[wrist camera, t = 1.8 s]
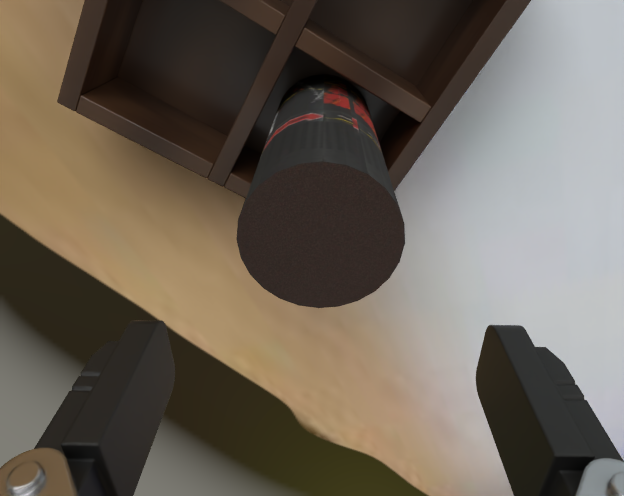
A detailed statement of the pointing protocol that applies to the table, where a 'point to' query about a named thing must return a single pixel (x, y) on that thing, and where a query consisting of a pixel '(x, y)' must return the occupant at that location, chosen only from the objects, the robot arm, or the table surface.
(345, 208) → the deodorant
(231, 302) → the table surface
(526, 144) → the table surface
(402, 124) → the rack
